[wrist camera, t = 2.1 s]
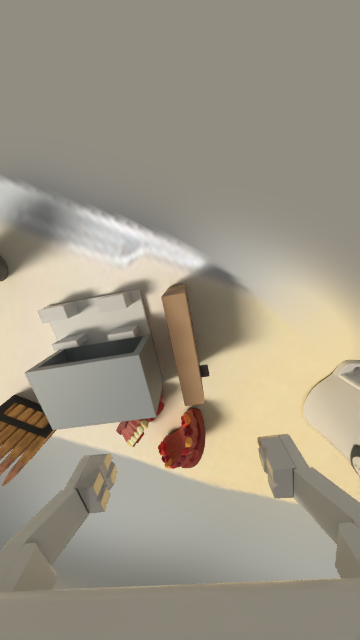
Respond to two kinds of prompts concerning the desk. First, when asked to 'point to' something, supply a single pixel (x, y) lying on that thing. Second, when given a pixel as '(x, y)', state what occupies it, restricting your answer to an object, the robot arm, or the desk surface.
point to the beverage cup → (3, 269)
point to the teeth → (172, 438)
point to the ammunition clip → (21, 433)
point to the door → (184, 344)
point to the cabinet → (98, 363)
